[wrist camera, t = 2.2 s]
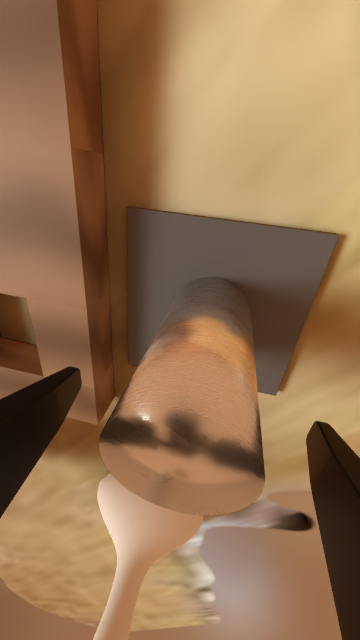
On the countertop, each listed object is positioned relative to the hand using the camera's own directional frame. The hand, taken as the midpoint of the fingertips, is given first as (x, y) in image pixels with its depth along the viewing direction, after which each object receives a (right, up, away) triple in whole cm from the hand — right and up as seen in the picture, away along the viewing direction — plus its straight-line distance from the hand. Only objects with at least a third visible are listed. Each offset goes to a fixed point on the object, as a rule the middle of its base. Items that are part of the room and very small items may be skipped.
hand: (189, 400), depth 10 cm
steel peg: (+2, +3, +6) cm, 7 cm away
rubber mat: (+2, +4, +7) cm, 8 cm away
